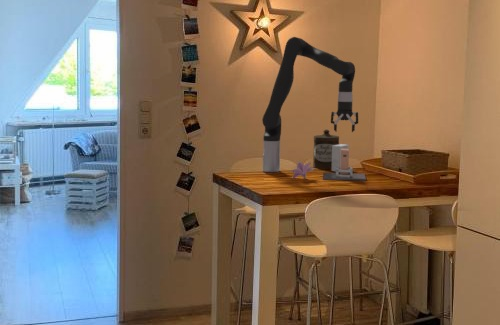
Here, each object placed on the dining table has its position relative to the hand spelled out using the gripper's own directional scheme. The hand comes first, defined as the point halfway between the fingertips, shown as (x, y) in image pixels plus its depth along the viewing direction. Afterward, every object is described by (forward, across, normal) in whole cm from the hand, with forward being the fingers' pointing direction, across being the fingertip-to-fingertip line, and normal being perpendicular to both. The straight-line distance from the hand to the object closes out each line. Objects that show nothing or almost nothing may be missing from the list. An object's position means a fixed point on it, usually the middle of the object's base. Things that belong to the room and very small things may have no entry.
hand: (344, 131), depth 323 cm
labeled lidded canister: (+25, +9, -34) cm, 43 cm away
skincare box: (+24, +1, -20) cm, 32 cm away
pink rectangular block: (+23, -1, 0) cm, 23 cm away
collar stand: (+24, -1, 0) cm, 24 cm away
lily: (+25, +21, +9) cm, 33 cm away
